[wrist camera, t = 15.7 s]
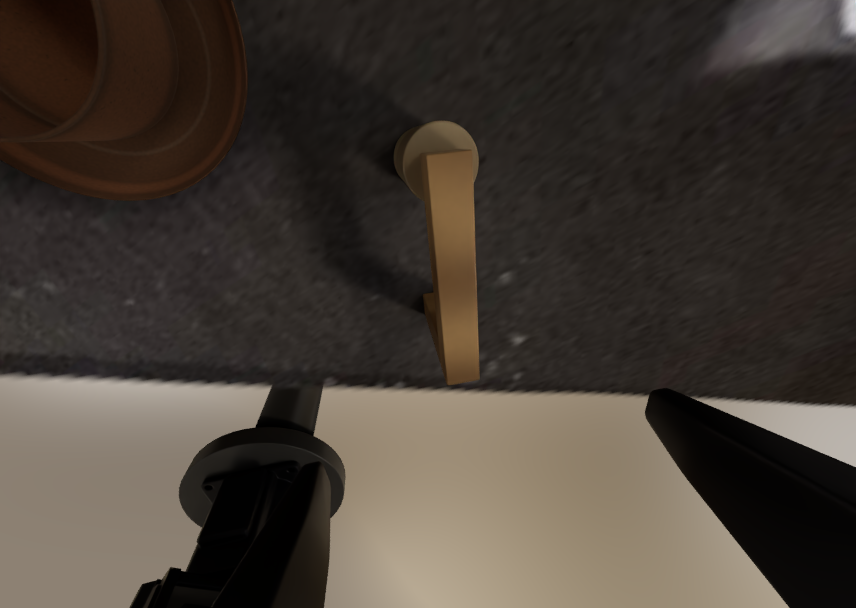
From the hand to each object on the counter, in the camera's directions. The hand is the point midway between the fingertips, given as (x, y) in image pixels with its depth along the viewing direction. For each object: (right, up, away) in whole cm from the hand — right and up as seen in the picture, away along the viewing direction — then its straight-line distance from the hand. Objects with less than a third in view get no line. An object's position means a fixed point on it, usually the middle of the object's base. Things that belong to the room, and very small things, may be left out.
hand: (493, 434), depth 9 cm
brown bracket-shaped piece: (-2, +8, +10) cm, 13 cm away
